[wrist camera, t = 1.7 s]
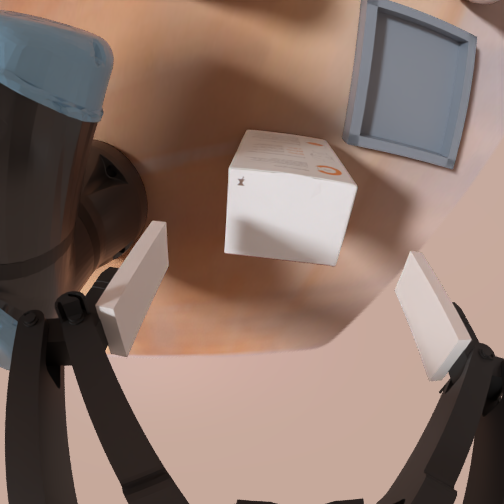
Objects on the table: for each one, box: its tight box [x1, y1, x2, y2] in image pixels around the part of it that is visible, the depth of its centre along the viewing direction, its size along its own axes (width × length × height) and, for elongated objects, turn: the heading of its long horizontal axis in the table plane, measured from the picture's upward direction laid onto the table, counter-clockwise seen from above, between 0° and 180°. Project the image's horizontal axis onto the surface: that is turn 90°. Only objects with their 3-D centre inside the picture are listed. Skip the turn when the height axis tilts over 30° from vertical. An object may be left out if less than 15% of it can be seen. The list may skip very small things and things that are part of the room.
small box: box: [224, 129, 358, 266], centre depth 25 cm, size 8×6×13 cm
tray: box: [342, 0, 477, 169], centre depth 24 cm, size 12×15×2 cm
